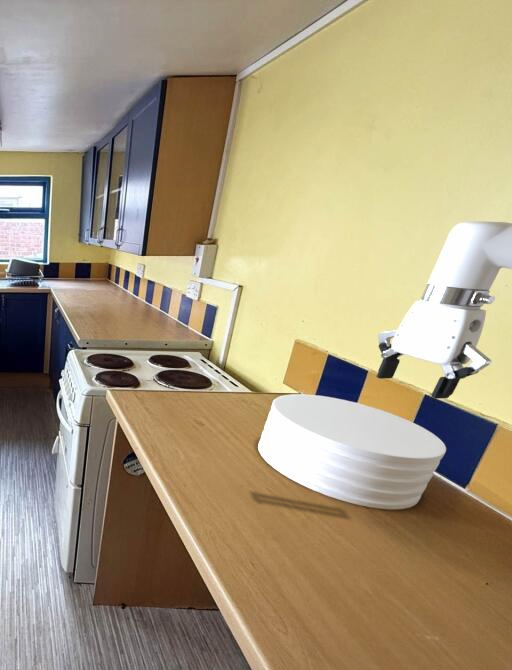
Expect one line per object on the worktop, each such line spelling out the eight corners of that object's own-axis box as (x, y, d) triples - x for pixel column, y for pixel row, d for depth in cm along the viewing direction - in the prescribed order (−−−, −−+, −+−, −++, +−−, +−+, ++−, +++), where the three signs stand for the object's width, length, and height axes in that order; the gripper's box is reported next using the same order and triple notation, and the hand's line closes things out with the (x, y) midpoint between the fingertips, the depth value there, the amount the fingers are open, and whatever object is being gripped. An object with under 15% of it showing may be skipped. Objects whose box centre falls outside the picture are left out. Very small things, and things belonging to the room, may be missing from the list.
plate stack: (434, 481, 85) (460, 433, 81) (396, 530, 70) (426, 475, 66) (288, 426, 106) (302, 386, 102) (235, 454, 91) (249, 409, 87)
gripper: (536, 307, 63) (482, 406, 70) (415, 289, 79) (380, 371, 85) (499, 307, 62) (447, 407, 68) (383, 288, 78) (350, 371, 84)
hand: (410, 387), depth 77 cm, fingers open, 9 cm apart
